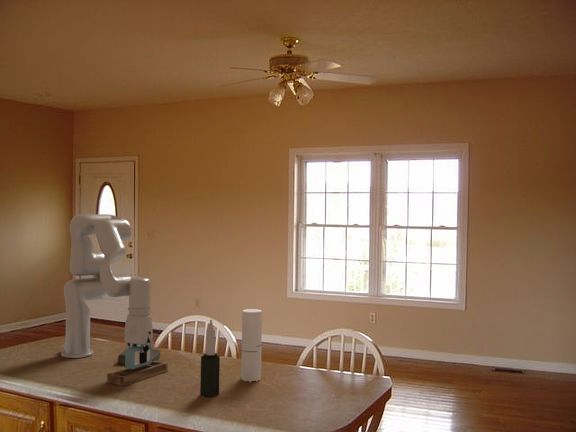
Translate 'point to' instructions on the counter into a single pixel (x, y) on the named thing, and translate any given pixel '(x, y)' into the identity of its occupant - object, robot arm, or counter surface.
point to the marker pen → (210, 366)
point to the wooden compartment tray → (137, 373)
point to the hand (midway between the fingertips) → (138, 361)
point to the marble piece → (154, 356)
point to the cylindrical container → (251, 344)
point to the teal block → (136, 357)
